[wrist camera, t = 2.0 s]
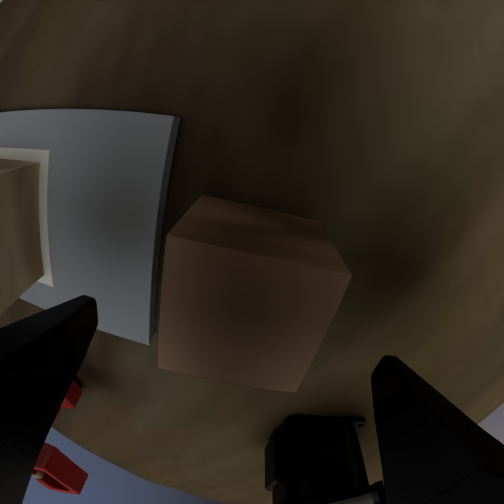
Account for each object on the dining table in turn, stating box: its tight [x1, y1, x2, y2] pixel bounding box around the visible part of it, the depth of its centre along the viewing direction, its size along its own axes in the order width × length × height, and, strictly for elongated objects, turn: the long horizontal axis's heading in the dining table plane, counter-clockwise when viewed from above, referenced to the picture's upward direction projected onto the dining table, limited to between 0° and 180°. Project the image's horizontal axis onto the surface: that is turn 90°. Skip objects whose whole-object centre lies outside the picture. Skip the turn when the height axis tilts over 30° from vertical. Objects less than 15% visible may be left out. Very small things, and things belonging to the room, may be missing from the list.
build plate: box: [0, 109, 181, 345], centre depth 11 cm, size 15×11×1 cm
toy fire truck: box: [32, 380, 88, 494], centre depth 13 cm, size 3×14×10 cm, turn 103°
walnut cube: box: [158, 194, 352, 393], centre depth 10 cm, size 5×5×5 cm
